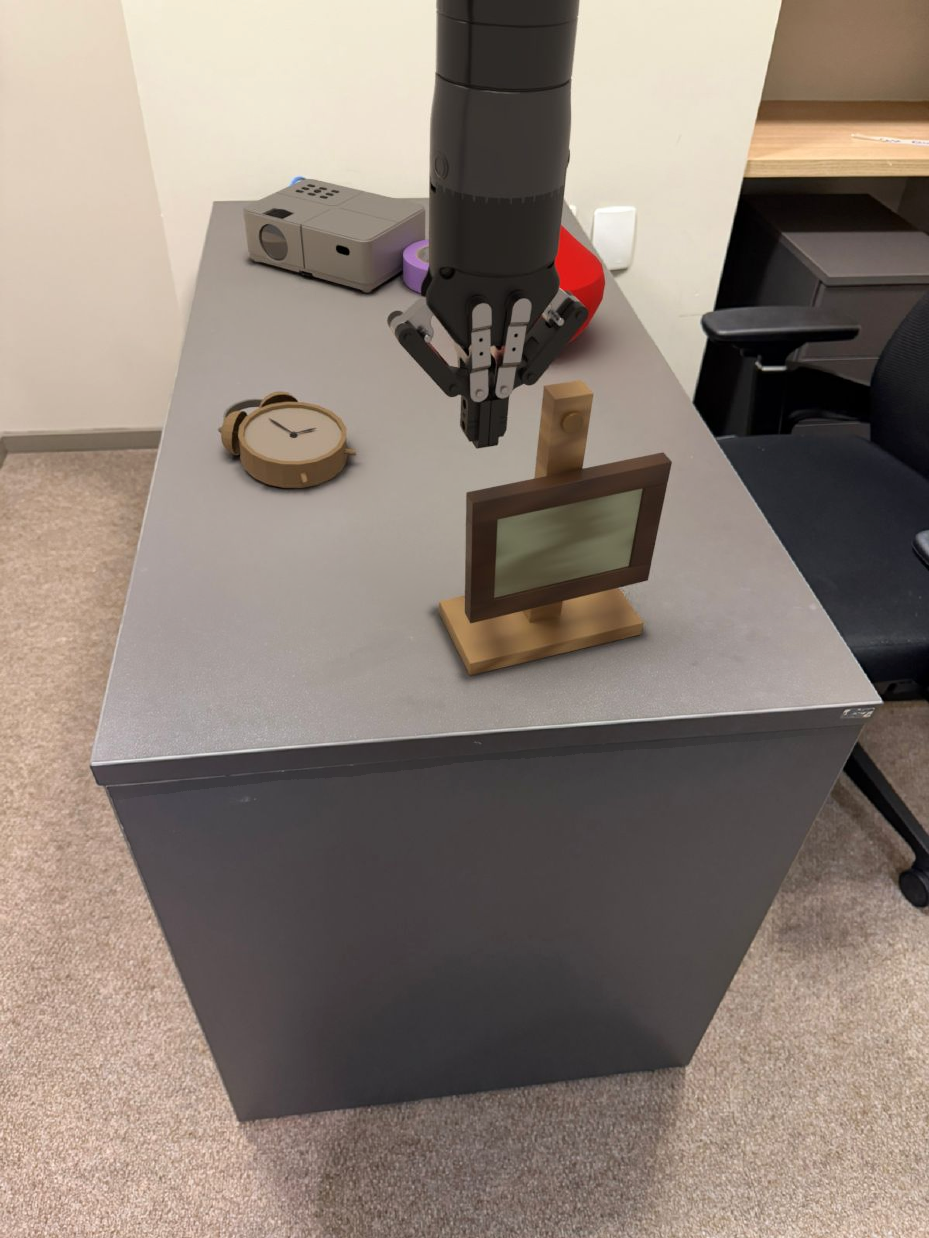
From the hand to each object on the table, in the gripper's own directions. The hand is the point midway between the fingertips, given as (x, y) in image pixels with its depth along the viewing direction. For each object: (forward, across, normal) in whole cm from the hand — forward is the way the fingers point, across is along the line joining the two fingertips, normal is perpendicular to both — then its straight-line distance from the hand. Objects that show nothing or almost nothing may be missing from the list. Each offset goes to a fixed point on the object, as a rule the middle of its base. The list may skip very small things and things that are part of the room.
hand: (482, 441), depth 61 cm
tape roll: (+21, -22, -73) cm, 80 cm away
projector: (+21, -9, -84) cm, 87 cm away
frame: (+16, -8, 0) cm, 18 cm away
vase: (+21, -27, -53) cm, 64 cm away
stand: (+21, -7, -2) cm, 23 cm away
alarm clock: (+22, +9, -35) cm, 42 cm away
